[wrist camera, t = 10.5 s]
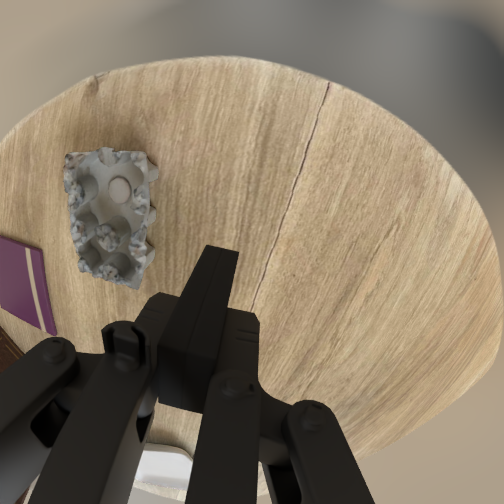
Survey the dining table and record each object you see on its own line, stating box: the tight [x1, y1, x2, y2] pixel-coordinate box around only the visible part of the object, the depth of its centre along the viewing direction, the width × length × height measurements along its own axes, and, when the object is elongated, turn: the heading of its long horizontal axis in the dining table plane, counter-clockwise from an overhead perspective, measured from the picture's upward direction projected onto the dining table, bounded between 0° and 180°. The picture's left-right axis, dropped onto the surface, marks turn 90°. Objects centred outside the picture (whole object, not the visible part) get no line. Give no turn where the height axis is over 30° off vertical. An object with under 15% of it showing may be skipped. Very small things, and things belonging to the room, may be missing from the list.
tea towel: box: [0, 235, 57, 336], centre depth 25 cm, size 12×12×1 cm
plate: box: [135, 443, 193, 491], centre depth 38 cm, size 21×21×3 cm
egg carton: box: [63, 147, 159, 290], centre depth 19 cm, size 11×8×4 cm
